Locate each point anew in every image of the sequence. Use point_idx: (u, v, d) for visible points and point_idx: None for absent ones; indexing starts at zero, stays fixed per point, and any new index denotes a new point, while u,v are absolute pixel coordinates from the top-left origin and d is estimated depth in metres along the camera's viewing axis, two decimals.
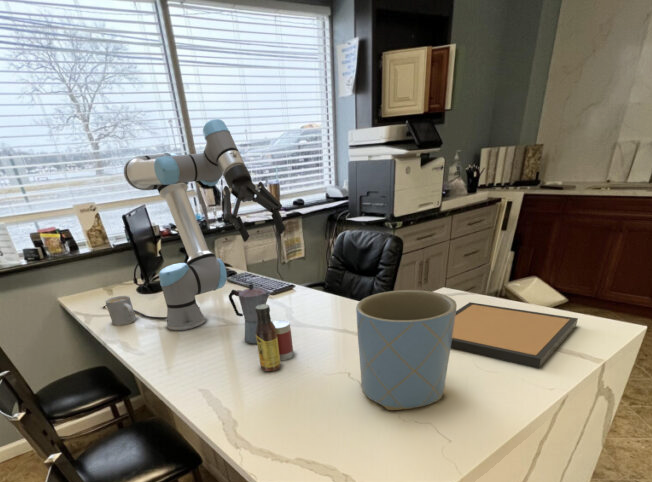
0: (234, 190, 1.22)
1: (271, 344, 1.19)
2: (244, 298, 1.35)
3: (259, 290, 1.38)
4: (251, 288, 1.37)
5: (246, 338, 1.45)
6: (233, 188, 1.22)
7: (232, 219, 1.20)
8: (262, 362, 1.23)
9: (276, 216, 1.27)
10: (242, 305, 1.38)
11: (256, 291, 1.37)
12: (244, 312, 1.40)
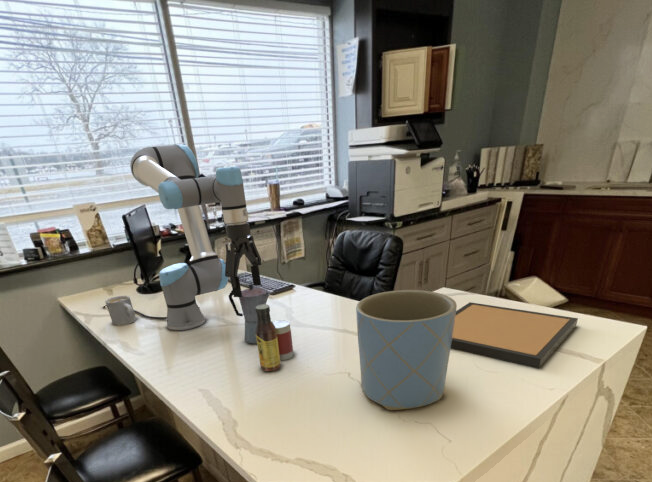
0: (236, 247, 1.27)
1: (271, 344, 1.19)
2: (244, 298, 1.35)
3: (259, 290, 1.38)
4: (251, 288, 1.37)
5: (246, 338, 1.45)
6: (236, 245, 1.27)
7: (232, 277, 1.28)
8: (262, 362, 1.23)
9: (256, 271, 1.41)
10: (242, 305, 1.38)
11: (256, 291, 1.37)
12: (244, 312, 1.40)
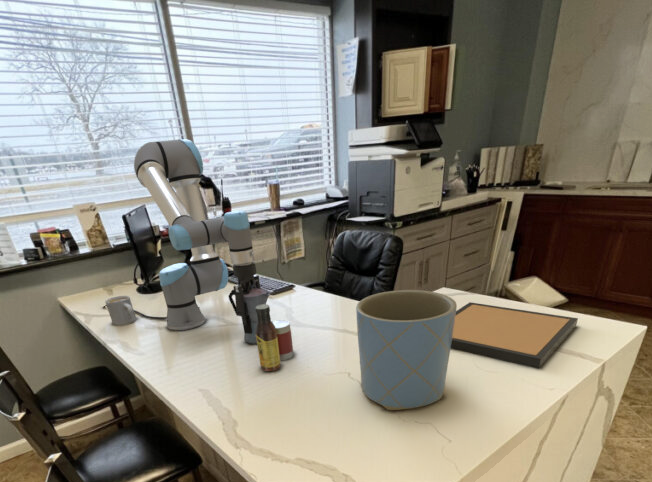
0: (243, 286, 1.34)
1: (271, 344, 1.19)
2: (244, 298, 1.35)
3: (259, 290, 1.38)
4: (251, 288, 1.37)
5: (246, 338, 1.45)
6: (243, 284, 1.33)
7: (243, 316, 1.37)
8: (262, 362, 1.23)
9: None
10: None
11: (256, 292, 1.37)
12: None
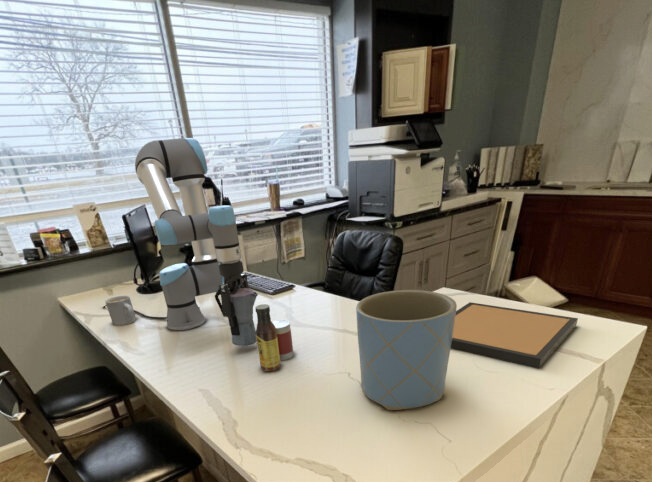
0: (230, 285, 1.27)
1: (271, 344, 1.19)
2: (230, 298, 1.28)
3: (247, 290, 1.31)
4: (238, 287, 1.30)
5: (233, 340, 1.37)
6: (229, 283, 1.26)
7: (229, 317, 1.30)
8: (262, 362, 1.23)
9: None
10: None
11: (243, 291, 1.29)
12: None
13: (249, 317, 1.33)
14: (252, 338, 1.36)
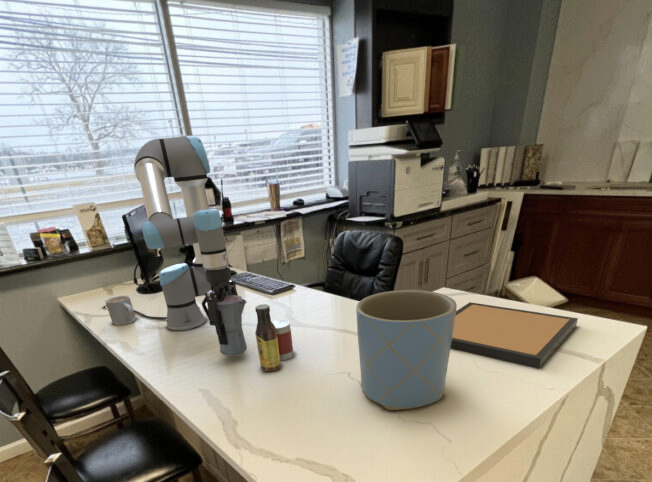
0: (217, 292, 1.21)
1: (271, 344, 1.19)
2: (217, 305, 1.22)
3: (235, 297, 1.25)
4: (226, 295, 1.24)
5: (221, 349, 1.31)
6: (216, 290, 1.20)
7: (217, 326, 1.24)
8: (262, 362, 1.23)
9: None
10: None
11: (231, 299, 1.23)
12: (218, 321, 1.26)
13: (238, 326, 1.27)
14: (241, 348, 1.31)
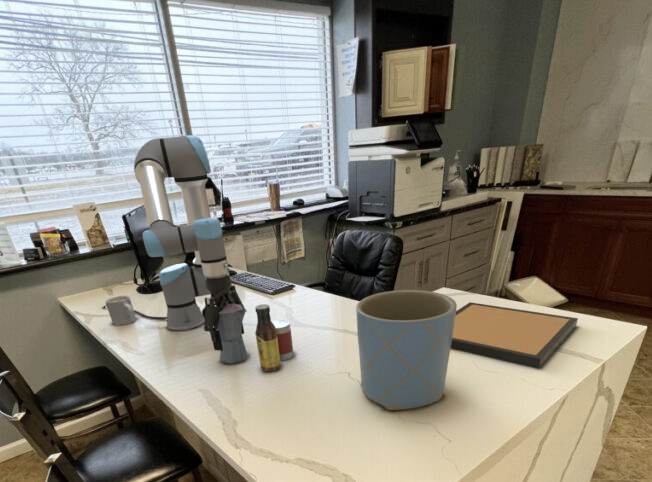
0: (216, 300, 1.21)
1: (271, 344, 1.19)
2: None
3: (235, 306, 1.25)
4: (226, 304, 1.24)
5: (222, 358, 1.32)
6: (216, 298, 1.21)
7: (211, 332, 1.22)
8: (262, 362, 1.23)
9: None
10: None
11: (231, 307, 1.24)
12: (219, 330, 1.27)
13: (238, 334, 1.28)
14: (241, 356, 1.31)
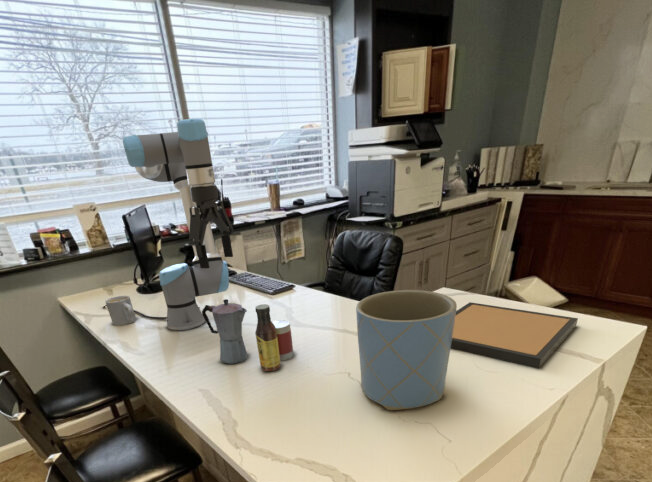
0: (202, 211, 1.15)
1: (271, 344, 1.19)
2: (218, 314, 1.23)
3: (235, 306, 1.25)
4: (226, 304, 1.24)
5: (222, 358, 1.32)
6: (202, 209, 1.15)
7: (197, 246, 1.16)
8: (262, 362, 1.23)
9: (227, 241, 1.29)
10: (216, 322, 1.25)
11: (231, 307, 1.24)
12: (219, 330, 1.27)
13: (238, 334, 1.28)
14: (241, 356, 1.31)
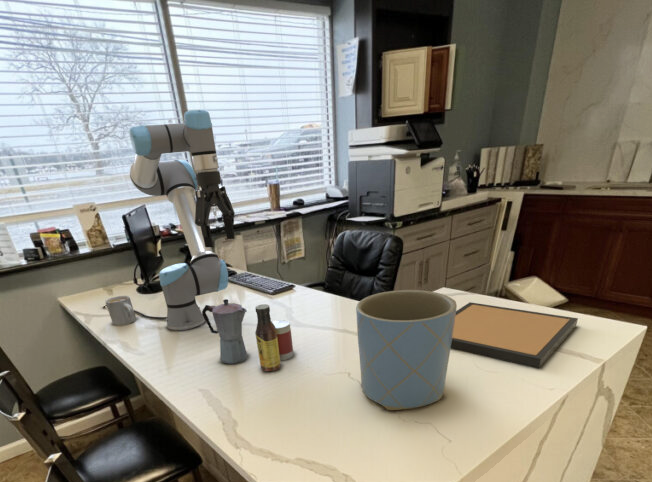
0: (207, 195, 1.27)
1: (271, 344, 1.19)
2: (218, 314, 1.23)
3: (235, 306, 1.25)
4: (226, 304, 1.24)
5: (222, 357, 1.32)
6: (206, 192, 1.26)
7: (202, 226, 1.28)
8: (262, 362, 1.23)
9: (229, 224, 1.40)
10: (216, 322, 1.25)
11: (231, 307, 1.24)
12: (219, 330, 1.27)
13: (238, 334, 1.28)
14: (241, 356, 1.31)
